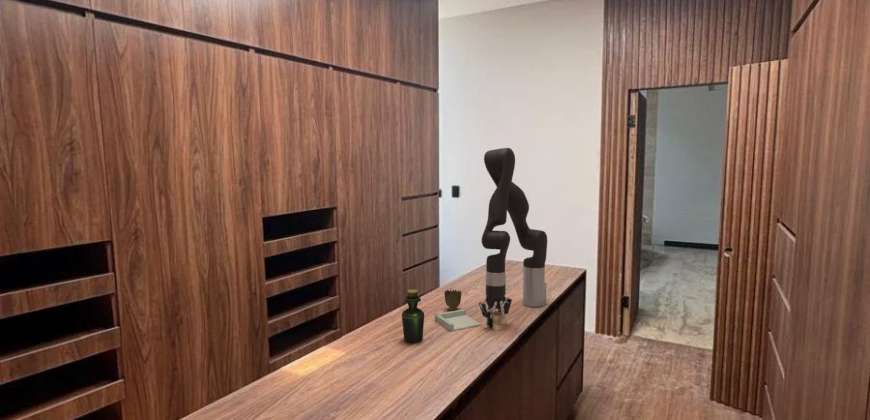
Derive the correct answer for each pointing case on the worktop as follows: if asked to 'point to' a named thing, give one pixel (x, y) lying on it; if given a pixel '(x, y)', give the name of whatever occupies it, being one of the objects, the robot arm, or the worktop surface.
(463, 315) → the corner tray
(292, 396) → the worktop surface
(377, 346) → the worktop surface
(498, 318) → the maple brick
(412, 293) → the potion bottle
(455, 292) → the cup
